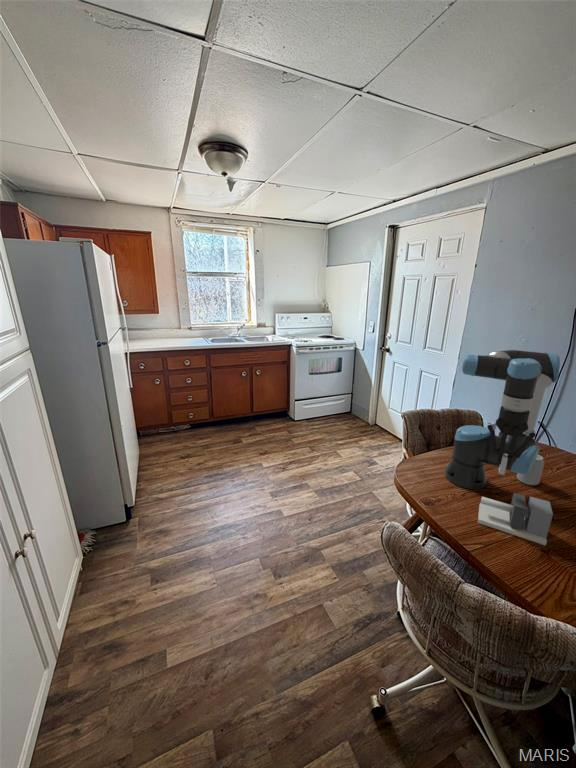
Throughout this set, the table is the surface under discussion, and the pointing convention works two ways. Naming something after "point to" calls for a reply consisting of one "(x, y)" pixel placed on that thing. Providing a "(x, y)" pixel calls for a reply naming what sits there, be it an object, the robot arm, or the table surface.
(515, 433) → the robot arm
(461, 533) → the table surface
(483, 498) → the rod stand
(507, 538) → the table surface
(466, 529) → the table surface
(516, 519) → the collar
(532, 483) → the can
